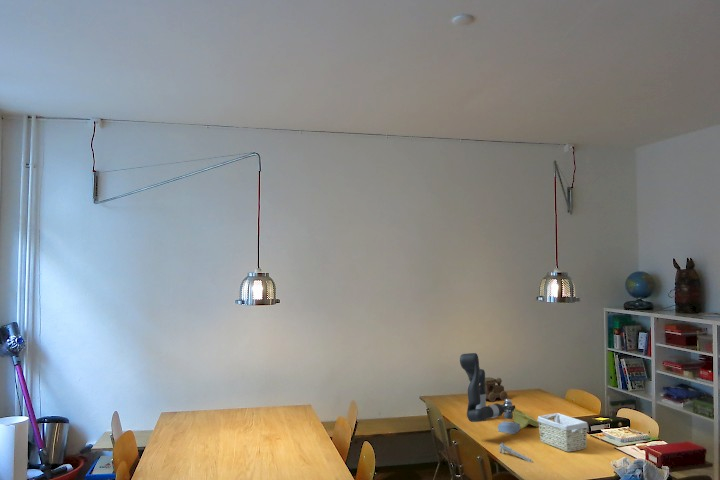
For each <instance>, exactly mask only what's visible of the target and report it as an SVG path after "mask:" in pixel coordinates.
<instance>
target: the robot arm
mask: <svg viewBox="0 0 720 480" xmlns="http://www.w3.org/2000/svg"><path fill="white" fill-rule="evenodd" d="M459 363H460V366H461V369H463V370H464V371H465V373H466V374H467V378H468V381H469V384H468V388H467V398H468V403H467V410H466V416H467V417H466V418H467V419H468V420H469V422H471V423H479V422H480V423H482V422H484V421H485V422H486V421H487V420H489V419H494V418H498V417H502V415H504V413H505V412H509V413H511V412H513V413H514V409H516V405H514V404H512V406H504V403H503V404H502V403H498V402H497V403H492V404H489V405H487V401H486V400H487V399H486V395H485V378H486V371H485V369H481V368H480V359H479V355H478V354H477V353H476V352H471V353H470V352H469V353H462V354H461V355H460V357H459ZM506 407H507V408H506Z"/></svg>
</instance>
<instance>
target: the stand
mask: <svg viewBox="0 0 720 480" xmlns="http://www.w3.org/2000/svg"><path fill="white" fill-rule="evenodd" d="M520 430H521V427H520V423H515V421H514V422H513V421H506V420H504V421H502V422H501V423H499V424H497V431H498V432H500V433H505V434H506V433H507V434H511V435H515V434H516V433H518V432H519V431H520Z"/></svg>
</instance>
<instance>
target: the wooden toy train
mask: <svg viewBox="0 0 720 480" xmlns="http://www.w3.org/2000/svg"><path fill="white" fill-rule="evenodd" d="M502 382H503V380H502V378H500V377H497V378H493V377H489V376H488V377H485V395H486V400H489V402H491V403H493V402H495V401H496V399H497V398H498V399H500V400H501V401H505V399H508V392H507V391H506V390H505V387H504V385H502Z"/></svg>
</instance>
